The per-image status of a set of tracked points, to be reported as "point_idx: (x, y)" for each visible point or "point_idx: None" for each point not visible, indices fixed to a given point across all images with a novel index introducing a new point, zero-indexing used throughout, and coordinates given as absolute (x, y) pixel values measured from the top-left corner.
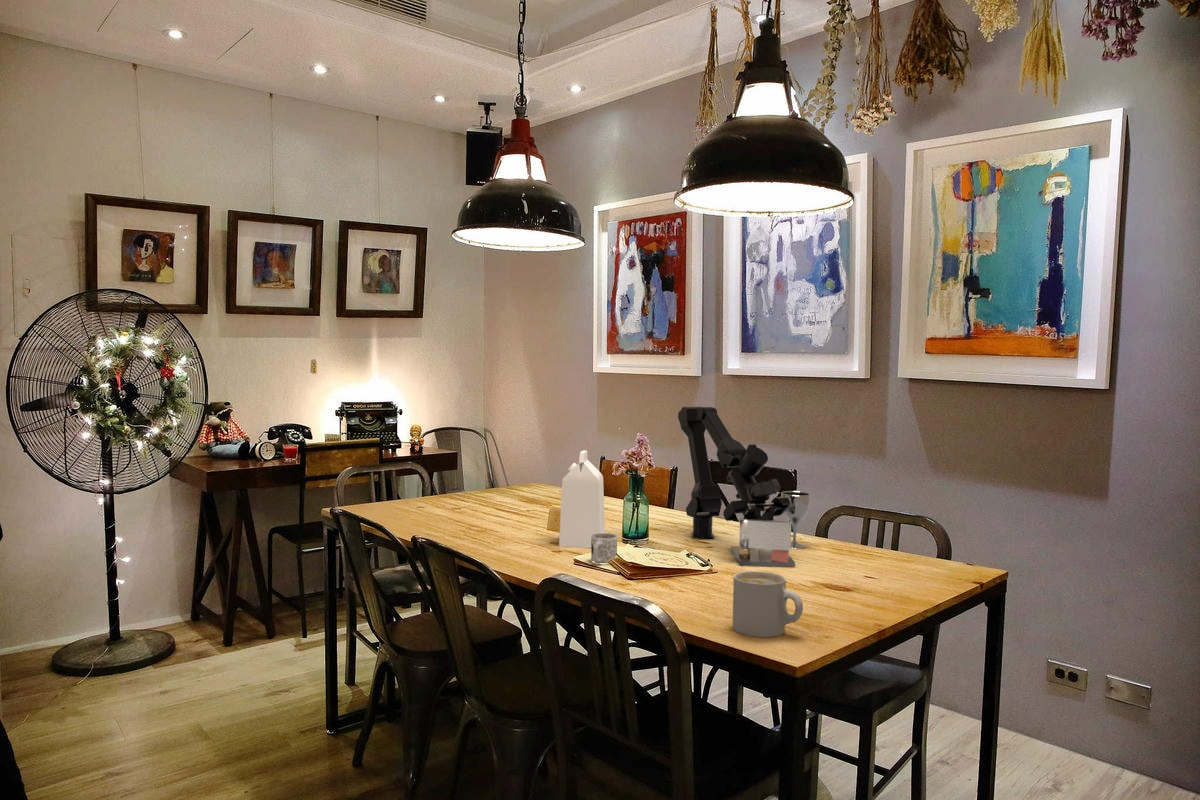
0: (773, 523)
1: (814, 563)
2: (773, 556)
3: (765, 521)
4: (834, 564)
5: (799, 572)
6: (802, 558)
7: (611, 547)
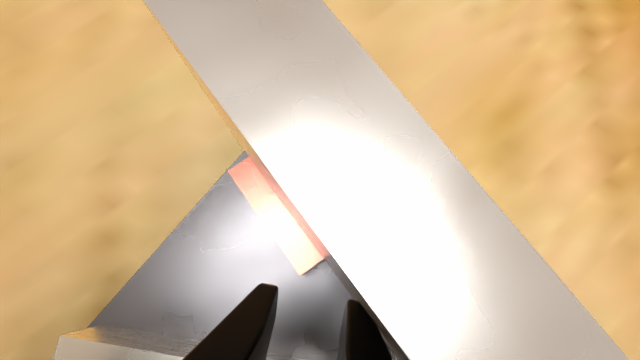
0: (433, 149)
1: (118, 105)
2: None
3: (541, 280)
4: (51, 30)
5: (364, 27)
6: (58, 230)
7: None
